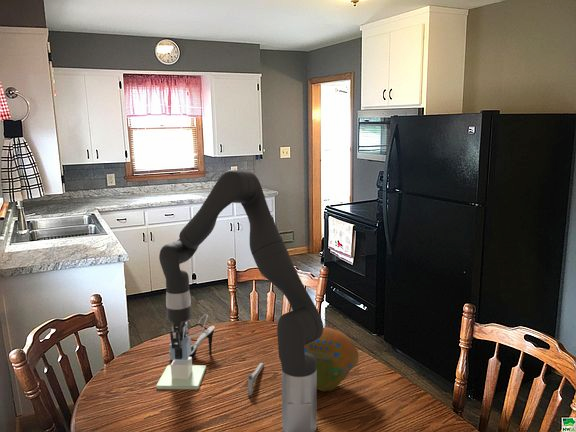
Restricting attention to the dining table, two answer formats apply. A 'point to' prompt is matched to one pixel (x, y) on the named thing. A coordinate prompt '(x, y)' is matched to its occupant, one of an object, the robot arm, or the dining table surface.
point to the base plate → (192, 383)
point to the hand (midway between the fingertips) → (181, 353)
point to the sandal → (202, 337)
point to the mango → (332, 358)
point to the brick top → (185, 349)
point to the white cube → (181, 369)
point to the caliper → (253, 379)
